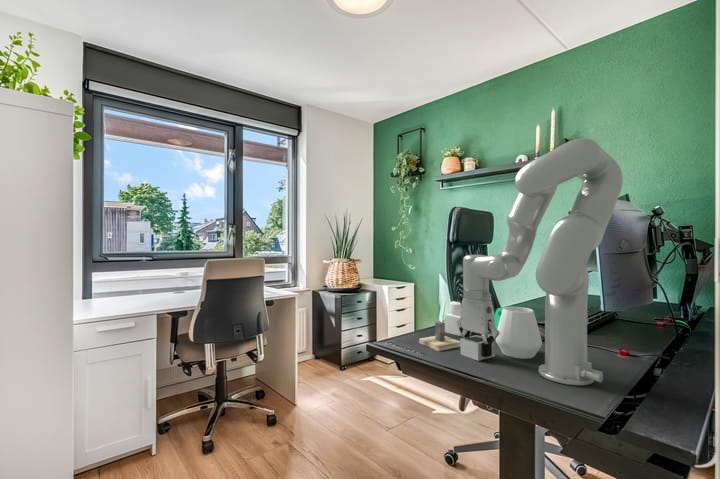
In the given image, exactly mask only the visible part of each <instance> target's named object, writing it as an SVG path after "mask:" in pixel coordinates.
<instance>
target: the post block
mask: <svg viewBox="0 0 720 479" xmlns="http://www.w3.org/2000/svg"><path fill="white" fill-rule="evenodd" d="M434 325H435V326H434V328H435V333H434V335H433V336H426V337H422V338H421V337H420V338H419V339H418V343H419V344H421V345H423V346H425V347H427V348H430V349H432V350H435V351H437V352H441V351H446V350H450V349H455V348H460V340H457V339H455V338H451V337H448V336H447V335H446V333H445V322H443V321H435V323H434Z"/></svg>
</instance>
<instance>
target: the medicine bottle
mask: <svg viewBox="0 0 720 479" xmlns="http://www.w3.org/2000/svg"><path fill="white" fill-rule="evenodd" d="M461 306H462V300H453V301H450V302H449V313H445V314H444V323H445V334H448V335H454V336H457V337H462V335H461V334H462V333H461V332H460V330H459V327H458V325H457V321H458V320H459V319H460V318H461Z"/></svg>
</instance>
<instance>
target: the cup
mask: <svg viewBox="0 0 720 479" xmlns="http://www.w3.org/2000/svg"><path fill="white" fill-rule="evenodd" d="M502 308H503V310H502V314H501V318H500V321H499V325H498V329H497V330H498V331H499V332H500V334H499V335H498V337H497V338H496V339H495V340H494V341H495V342H496V344H497V345H498V348H499V349H500V351H501V352H502V354H503V355H505V356H506V357H510V358H515V359H521V360H526V359H527V360H528V359H533V358H534V357H536V355H537V353H538V352H539V350H540V349H541V347H542V344H543V340H542V336H541V333H540V329H539V326H538V323H537V318H536V314H535V311H534V309H531V308H529V307H521V306H504V307H502Z"/></svg>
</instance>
